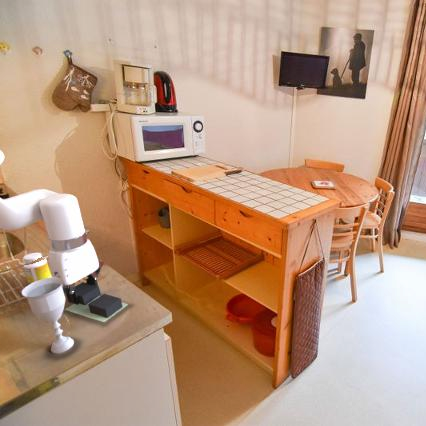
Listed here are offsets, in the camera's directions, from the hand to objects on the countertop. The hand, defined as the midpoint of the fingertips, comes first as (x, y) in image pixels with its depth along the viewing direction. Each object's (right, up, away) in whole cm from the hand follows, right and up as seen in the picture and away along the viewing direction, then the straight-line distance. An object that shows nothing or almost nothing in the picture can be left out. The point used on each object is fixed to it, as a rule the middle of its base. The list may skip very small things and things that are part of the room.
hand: (84, 296), depth 90 cm
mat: (+4, -4, 0) cm, 5 cm away
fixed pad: (+7, -4, -1) cm, 8 cm away
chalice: (+4, -9, -13) cm, 17 cm away
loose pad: (0, 0, 0) cm, 0 cm away
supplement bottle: (-20, +1, +9) cm, 21 cm away
